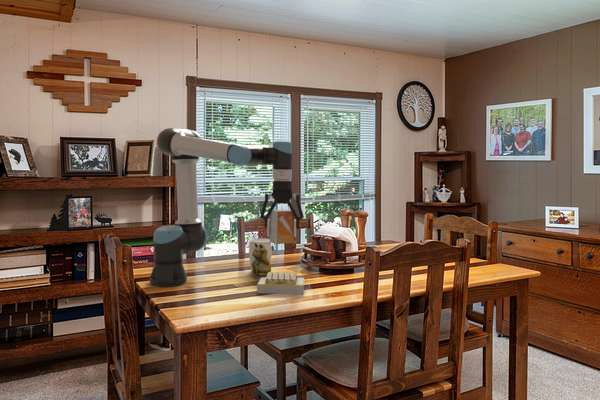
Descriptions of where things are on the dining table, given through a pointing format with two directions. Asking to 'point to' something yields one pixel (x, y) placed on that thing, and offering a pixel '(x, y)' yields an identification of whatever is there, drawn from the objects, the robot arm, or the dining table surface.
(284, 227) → the small box
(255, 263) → the decorative figurine
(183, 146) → the robot arm
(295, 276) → the pallet
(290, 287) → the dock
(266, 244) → the jar
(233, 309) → the dining table surface
